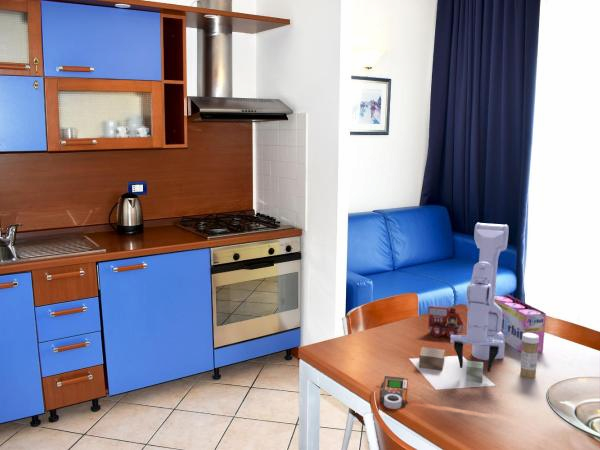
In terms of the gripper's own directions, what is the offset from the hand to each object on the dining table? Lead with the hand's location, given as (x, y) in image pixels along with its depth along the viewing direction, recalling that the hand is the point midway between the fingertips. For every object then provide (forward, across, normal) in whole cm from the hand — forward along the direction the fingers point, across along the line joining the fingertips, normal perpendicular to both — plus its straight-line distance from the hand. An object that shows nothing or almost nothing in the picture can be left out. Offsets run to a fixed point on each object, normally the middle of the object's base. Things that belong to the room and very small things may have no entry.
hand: (474, 368), depth 163 cm
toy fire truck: (+4, -12, +37) cm, 39 cm away
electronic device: (+5, -21, -17) cm, 27 cm away
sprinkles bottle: (+4, +15, +8) cm, 18 cm away
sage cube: (+3, 0, 0) cm, 3 cm away
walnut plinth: (+3, -13, +6) cm, 15 cm away
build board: (+4, -7, +3) cm, 9 cm away
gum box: (+4, +12, +39) cm, 41 cm away
